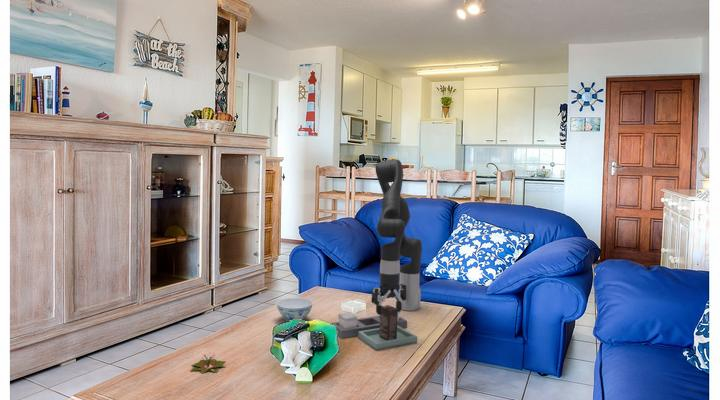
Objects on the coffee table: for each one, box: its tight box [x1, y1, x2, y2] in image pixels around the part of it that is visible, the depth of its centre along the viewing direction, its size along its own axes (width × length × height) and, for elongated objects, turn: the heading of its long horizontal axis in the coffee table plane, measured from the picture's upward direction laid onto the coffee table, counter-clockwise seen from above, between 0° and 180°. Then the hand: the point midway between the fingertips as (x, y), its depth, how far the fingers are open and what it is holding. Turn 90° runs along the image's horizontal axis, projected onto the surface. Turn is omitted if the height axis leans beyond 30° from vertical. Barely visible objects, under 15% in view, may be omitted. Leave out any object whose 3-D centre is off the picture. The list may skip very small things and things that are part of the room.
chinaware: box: [276, 297, 314, 322], centre depth 204 cm, size 15×15×8 cm
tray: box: [357, 325, 418, 351], centre depth 184 cm, size 18×14×2 cm
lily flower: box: [189, 352, 227, 375], centre depth 157 cm, size 12×12×5 cm
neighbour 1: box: [338, 312, 358, 329], centre depth 192 cm, size 5×6×7 cm
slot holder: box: [330, 315, 408, 340], centre depth 197 cm, size 30×10×3 cm, turn 119°
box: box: [379, 304, 398, 341], centre depth 184 cm, size 6×4×12 cm
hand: (388, 312), depth 184 cm, fingers open, 8 cm apart
